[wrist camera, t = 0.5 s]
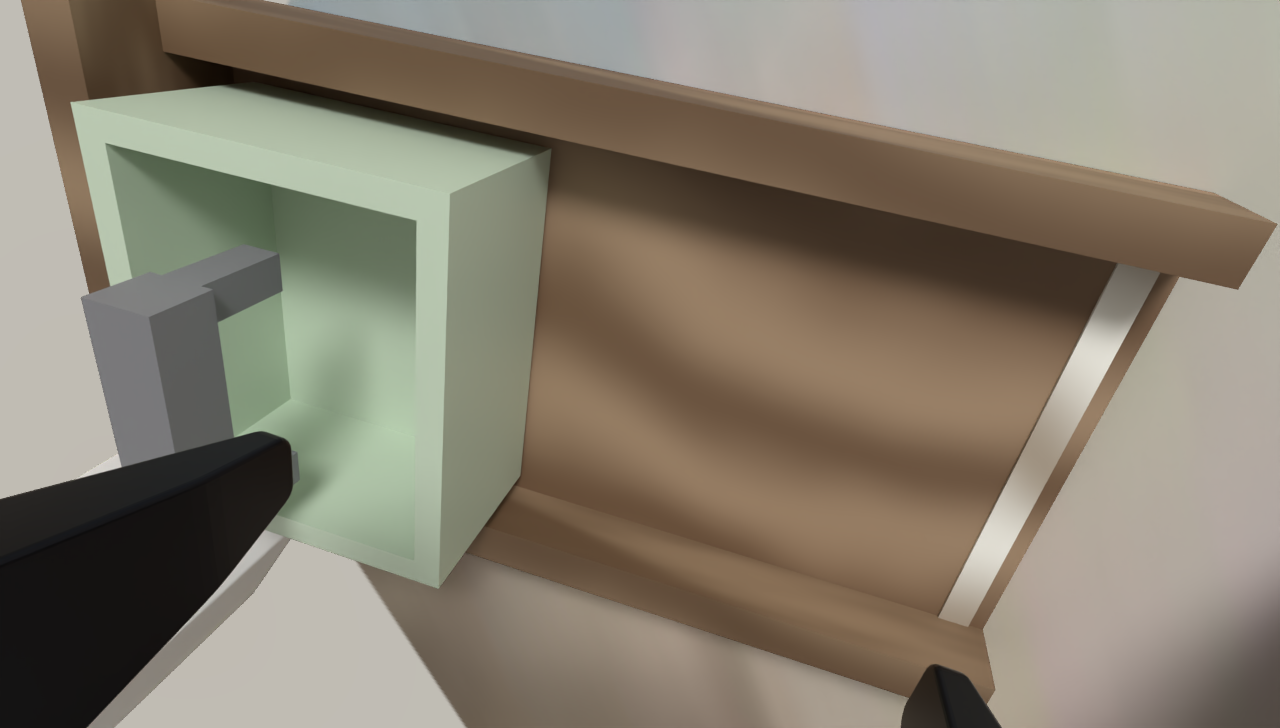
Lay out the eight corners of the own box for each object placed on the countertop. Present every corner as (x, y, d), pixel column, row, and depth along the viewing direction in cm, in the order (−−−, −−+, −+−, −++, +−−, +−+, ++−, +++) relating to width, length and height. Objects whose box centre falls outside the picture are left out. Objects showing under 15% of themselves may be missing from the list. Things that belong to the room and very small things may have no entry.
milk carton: (137, 503, 35) (-512, 946, 18) (176, 416, 31) (-583, 867, 15) (254, 592, 35) (-269, 1099, 19) (306, 517, 32) (-281, 1058, 15)
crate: (520, 475, 26) (357, 702, 18) (285, 403, 28) (29, 578, 19) (551, 148, 21) (333, 245, 12) (253, 81, 22) (-130, 124, 14)
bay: (964, 647, 25) (990, 794, 21) (251, 424, 30) (137, 501, 25) (1214, 192, 18) (1349, 259, 13) (195, -14, 22) (15, -22, 17)
